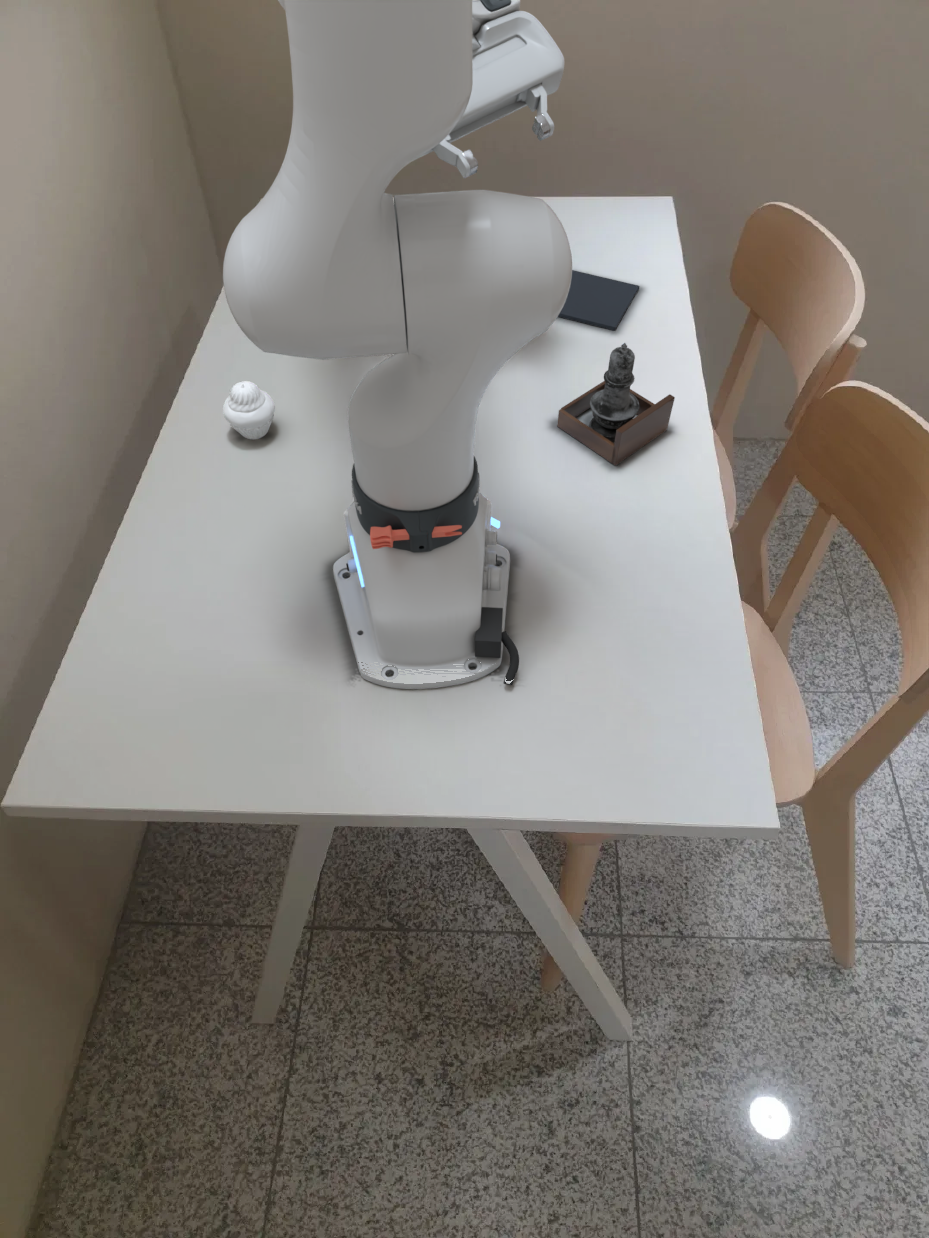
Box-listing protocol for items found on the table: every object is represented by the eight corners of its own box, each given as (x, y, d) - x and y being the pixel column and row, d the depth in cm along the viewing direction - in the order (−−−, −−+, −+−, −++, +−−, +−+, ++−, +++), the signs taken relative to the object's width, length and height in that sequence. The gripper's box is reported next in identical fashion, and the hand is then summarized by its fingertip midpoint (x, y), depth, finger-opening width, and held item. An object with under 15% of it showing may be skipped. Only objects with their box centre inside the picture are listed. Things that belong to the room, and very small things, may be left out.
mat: (614, 331, 115) (615, 327, 114) (539, 312, 117) (539, 308, 117) (638, 289, 121) (639, 285, 120) (567, 272, 123) (567, 268, 123)
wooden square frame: (556, 426, 103) (559, 392, 99) (608, 392, 107) (613, 359, 103) (615, 466, 99) (621, 433, 95) (667, 430, 102) (675, 397, 98)
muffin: (269, 451, 101) (257, 404, 95) (221, 444, 102) (207, 397, 96) (287, 418, 104) (276, 371, 99) (241, 411, 105) (227, 364, 100)
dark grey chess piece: (634, 413, 104) (650, 328, 95) (635, 445, 101) (652, 360, 91) (586, 410, 105) (598, 326, 95) (586, 442, 101) (598, 357, 92)
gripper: (354, 60, 83) (426, 175, 82) (527, -19, 86) (597, 91, 86) (355, 106, 89) (422, 214, 88) (516, 31, 93) (582, 134, 92)
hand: (510, 153), depth 87 cm, fingers open, 8 cm apart
